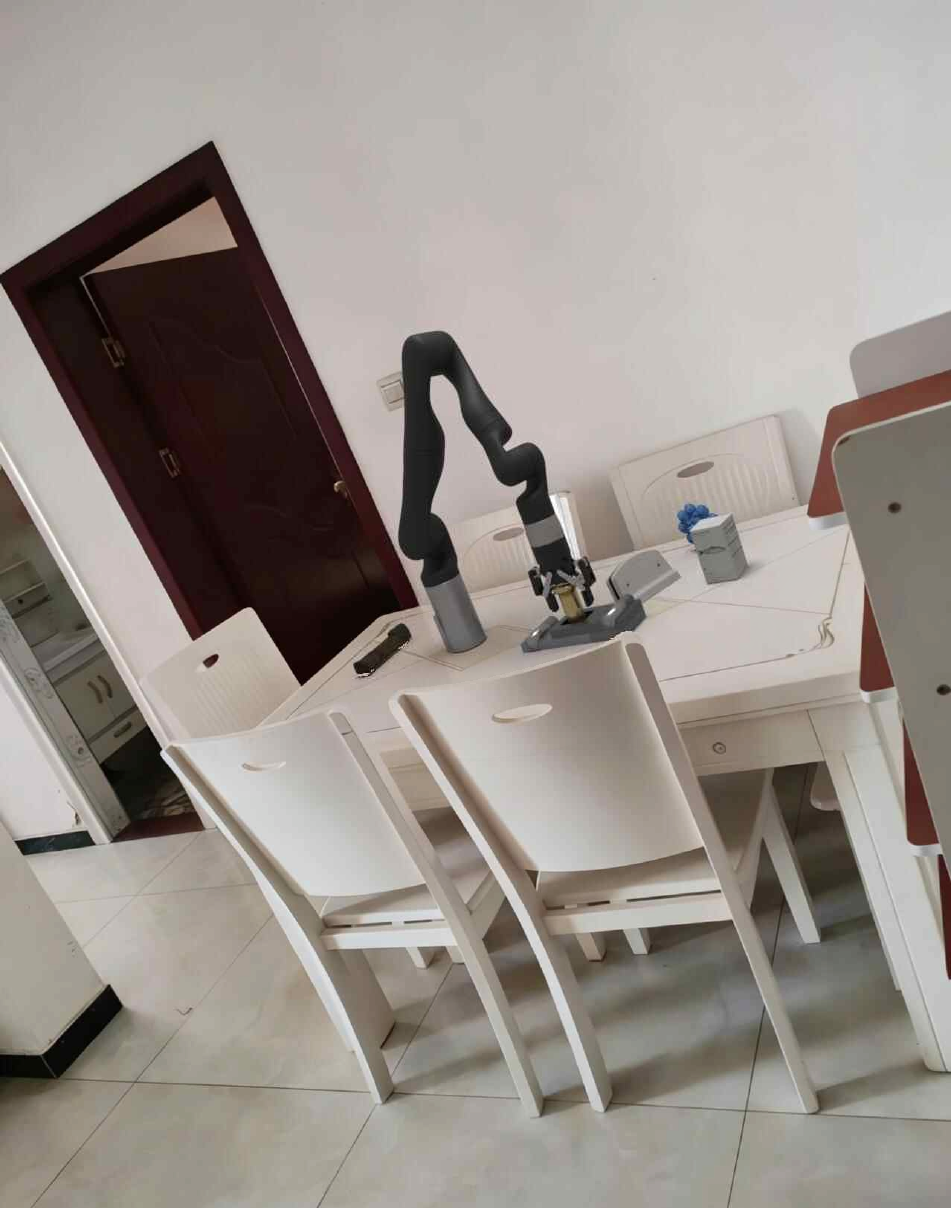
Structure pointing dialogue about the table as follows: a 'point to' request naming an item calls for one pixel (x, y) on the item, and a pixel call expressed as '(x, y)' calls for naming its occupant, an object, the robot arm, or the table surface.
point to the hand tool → (383, 649)
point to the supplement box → (719, 548)
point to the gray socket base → (587, 625)
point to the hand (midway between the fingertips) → (573, 608)
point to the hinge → (641, 576)
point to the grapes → (692, 518)
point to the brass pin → (570, 602)
